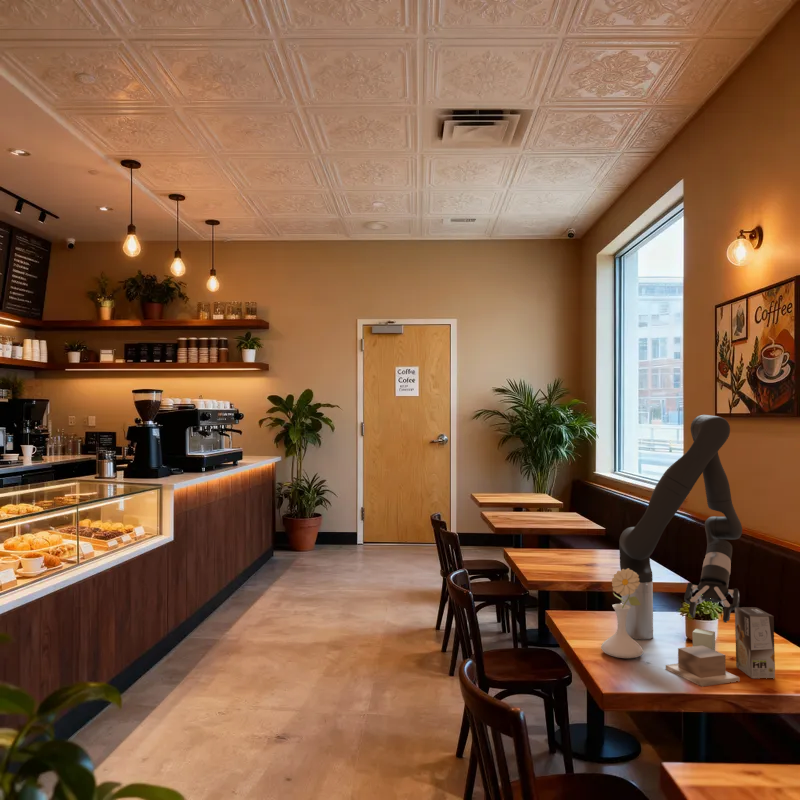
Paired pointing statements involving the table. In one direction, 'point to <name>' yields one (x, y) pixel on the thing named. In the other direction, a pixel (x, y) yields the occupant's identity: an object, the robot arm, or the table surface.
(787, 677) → the table surface
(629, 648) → the flower in vase
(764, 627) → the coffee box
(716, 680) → the tower base
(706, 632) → the sage brick
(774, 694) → the table surface
